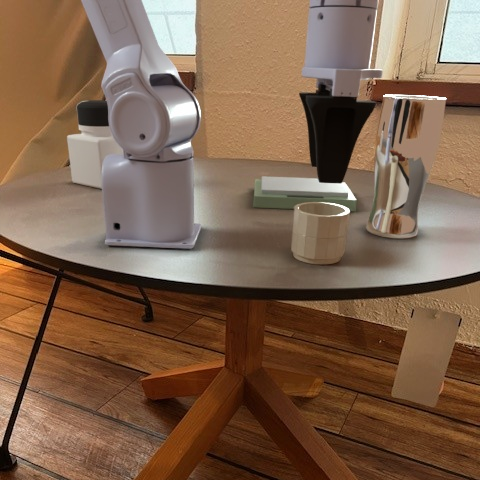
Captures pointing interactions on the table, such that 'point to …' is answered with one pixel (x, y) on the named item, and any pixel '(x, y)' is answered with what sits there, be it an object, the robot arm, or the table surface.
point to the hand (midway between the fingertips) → (325, 174)
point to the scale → (300, 193)
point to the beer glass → (403, 161)
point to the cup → (319, 232)
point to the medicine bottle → (91, 143)
